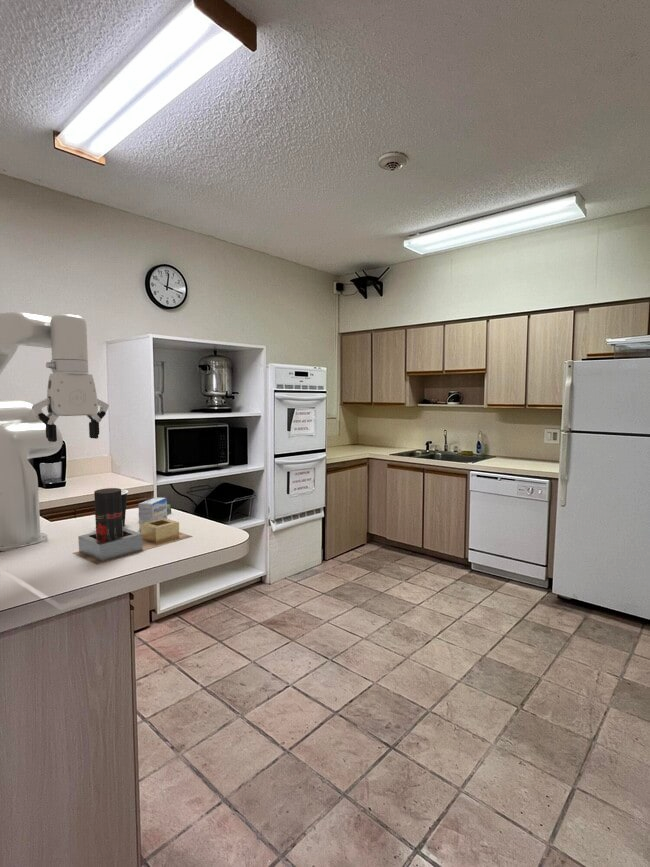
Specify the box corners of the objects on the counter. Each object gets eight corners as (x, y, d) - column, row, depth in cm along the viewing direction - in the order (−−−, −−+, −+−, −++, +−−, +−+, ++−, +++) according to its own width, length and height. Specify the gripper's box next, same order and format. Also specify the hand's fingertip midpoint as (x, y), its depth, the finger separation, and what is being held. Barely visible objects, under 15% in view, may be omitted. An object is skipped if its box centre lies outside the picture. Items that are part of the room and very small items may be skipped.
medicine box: (153, 534, 131) (152, 503, 131) (138, 533, 132) (137, 503, 131) (168, 526, 139) (167, 497, 138) (154, 525, 140) (153, 496, 139)
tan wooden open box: (141, 538, 124) (140, 523, 124) (164, 532, 130) (163, 517, 129) (156, 543, 120) (155, 528, 120) (179, 536, 125) (178, 522, 125)
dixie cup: (124, 523, 141) (123, 488, 140) (133, 530, 135) (131, 492, 134) (96, 528, 136) (94, 491, 135) (103, 535, 130) (101, 496, 129)
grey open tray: (79, 552, 113) (78, 536, 113) (120, 541, 122) (119, 526, 121) (100, 561, 107) (99, 544, 107) (142, 549, 115) (142, 533, 115)
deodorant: (127, 550, 114) (125, 490, 113) (102, 557, 110) (99, 494, 109) (117, 545, 118) (115, 487, 117) (93, 550, 114) (90, 490, 113)
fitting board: (72, 557, 113) (72, 553, 113) (166, 531, 133) (166, 528, 133) (97, 568, 106) (96, 564, 105) (192, 539, 126) (192, 536, 126)
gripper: (37, 366, 102) (41, 444, 103) (113, 369, 115) (116, 438, 117) (23, 367, 106) (27, 441, 108) (98, 370, 120) (101, 436, 122)
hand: (73, 439), depth 112 cm, fingers open, 9 cm apart
